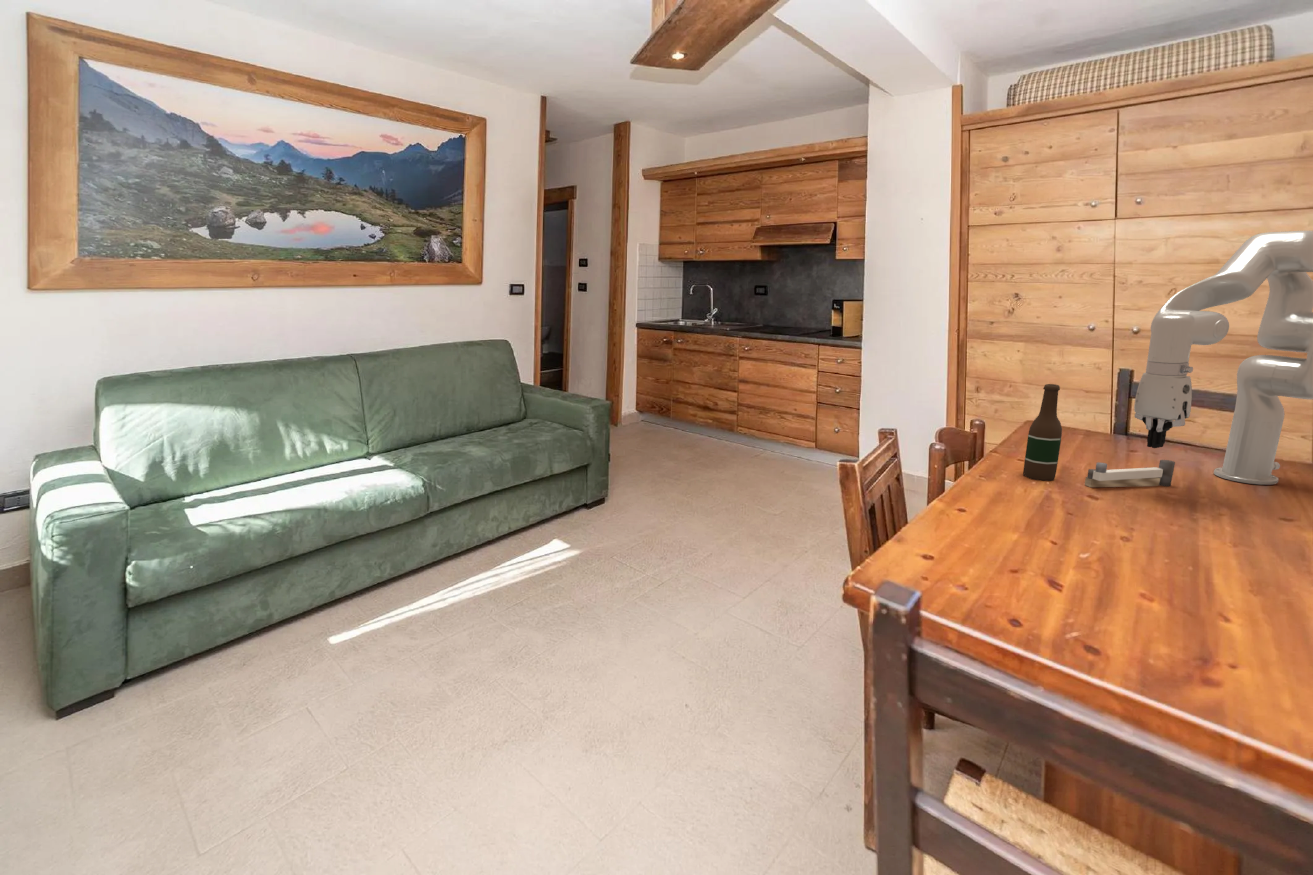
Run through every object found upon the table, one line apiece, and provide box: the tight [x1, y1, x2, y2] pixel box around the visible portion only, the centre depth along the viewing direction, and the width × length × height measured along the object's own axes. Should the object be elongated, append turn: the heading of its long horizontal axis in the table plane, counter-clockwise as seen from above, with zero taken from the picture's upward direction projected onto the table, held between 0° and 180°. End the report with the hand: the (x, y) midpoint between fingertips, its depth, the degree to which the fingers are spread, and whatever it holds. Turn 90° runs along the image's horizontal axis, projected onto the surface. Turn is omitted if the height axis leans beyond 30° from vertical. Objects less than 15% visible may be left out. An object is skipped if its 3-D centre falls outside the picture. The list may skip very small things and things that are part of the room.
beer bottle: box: [1022, 383, 1063, 482], centre depth 170 cm, size 8×8×24 cm
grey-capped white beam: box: [1084, 459, 1176, 488], centre depth 166 cm, size 22×3×6 cm, turn 95°
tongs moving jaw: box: [1092, 461, 1163, 481], centre depth 164 cm, size 18×2×4 cm, turn 101°
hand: (1155, 446), depth 157 cm, fingers closed
